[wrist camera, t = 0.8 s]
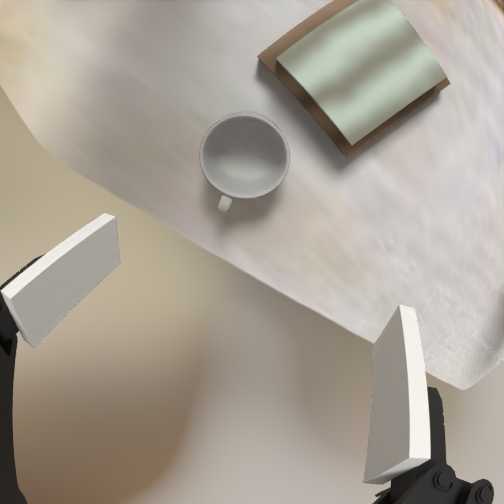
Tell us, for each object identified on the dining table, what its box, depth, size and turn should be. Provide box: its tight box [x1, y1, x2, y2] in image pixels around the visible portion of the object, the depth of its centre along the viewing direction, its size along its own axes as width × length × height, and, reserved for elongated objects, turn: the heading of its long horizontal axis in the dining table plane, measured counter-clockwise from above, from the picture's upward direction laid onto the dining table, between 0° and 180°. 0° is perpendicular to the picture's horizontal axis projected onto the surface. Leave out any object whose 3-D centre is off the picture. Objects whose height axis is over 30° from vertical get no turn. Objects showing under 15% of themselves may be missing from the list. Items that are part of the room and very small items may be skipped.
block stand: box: [257, 0, 450, 159], centre depth 30 cm, size 18×20×6 cm
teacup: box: [199, 112, 290, 213], centre depth 38 cm, size 14×11×8 cm
